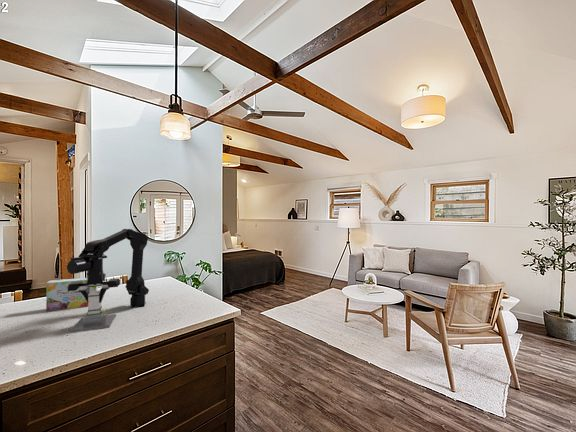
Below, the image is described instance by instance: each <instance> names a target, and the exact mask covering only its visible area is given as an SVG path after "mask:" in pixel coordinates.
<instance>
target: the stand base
mask: <svg viewBox="0 0 576 432" xmlns="http://www.w3.org/2000/svg"><path fill="white" fill-rule="evenodd" d="M101 310H102V311H101V313H100V314H97V315H88V311H87V312H86V313H85V314H84V315H83V317H81V318H80V319H79V320H78V321H77V323H76V324H74V326H72V328H71V329H70V330H69V333H77V332H86V331H94V330H101V329H108V328H111V326H112V324H113V322H114V320H115V319H116V317H117V314H116V313H114V314H107V309H106V308H104V309H101Z"/></svg>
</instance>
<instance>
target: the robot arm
mask: <svg viewBox="0 0 576 432" xmlns="http://www.w3.org/2000/svg"><path fill="white" fill-rule="evenodd" d="M124 240H127V241H129V244H130V246H131V249H132V258H131V260H132V261H131V273H130V277H129V279H126V281H125V288H126V291H127V293H128V295H129V296H130V295H131V297H130V299H129V300H130V301H129V303H130V308H131V309H132V308H141V307H145V305H146V296H147V295H148V294H149V291H150V290H149V288H148V287H147V286H146V285H145V280H144V277H143V276H142V275H143V262H144V250H145V248H146V247H147V245H148V240H149V236H148V235H147V234H146V233H142V232H139V231H136V230H134V229H132V228H124V229H123V228H122V230H120V231H118V232H115V233H114V234H112V235H109V236H106V237H104V238H102V239H101V238H100V239H96V240H91V241H89V242H86V243H85V245H84V248H82V251H81V252H80V254H79V255H78V257H77V256H76V257H71V258H70V260H69V262H68V263H67V266H66V270H67V272H68V273H69V274H70V275H74V274H80V273H85V272H86V278H87V283H83V282H82V281H79V282H72V283H71V284H69V285H68V291H76V290H77V289H78V288H79V291H78V292H81V293H82V294H83V296H84V297H85V299H86V301H87V302H88V294H89V293H90V292H89V291H90V287H95V286H98V287H100V289H99V290H100V303H101V304H102V302H103V299H104V297H105V294H106V292H107V290H109V289H110V288H111V289H112V288H117V287H119V286H120V285H121V280H120V278H110V279H108V280H107V281H106V277H107V276H106V273H104V267H103V266H104V262H103V261H104V259H108V256H107V255H105V253H106V252H107V251H108V250H109V249H110V248H111V247H113V246H115V245H117V244H118V243H119V242H120V243H121V242H122V241H124ZM92 284H93V285H92Z"/></svg>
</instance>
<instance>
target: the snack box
mask: <svg viewBox="0 0 576 432" xmlns="http://www.w3.org/2000/svg"><path fill="white" fill-rule="evenodd" d="M79 281H82V282H83V283H87V277H80V278H79V277H78V278H69V279H67V278H64V279H52V280H48V281H47V282H46V284H45V285H46V286H45V287H46V301H45V302H46V303H45V304H46V305H45V309H46V312H52V311H58V310H68V309H69V310H70V309H76V308H85V307H88V302H87V301H86V299H85V297H84V296H83V294H82V293H81V292H78V291H79V288H78V289H77V290H76V291H68V285H69V284H71V283H72V282H79ZM92 285H93V284H92ZM91 291H99V286H95V287H90V291H89V292H91Z"/></svg>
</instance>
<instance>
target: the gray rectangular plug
mask: <svg viewBox="0 0 576 432" xmlns="http://www.w3.org/2000/svg"><path fill="white" fill-rule="evenodd" d="M87 307H88V310H87V312H88V315H97V314H100V313H101V311H102V310H103V306H102V302H101V303H100V289H98V291H91V292H90V293H89V294H88V306H87Z"/></svg>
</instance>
